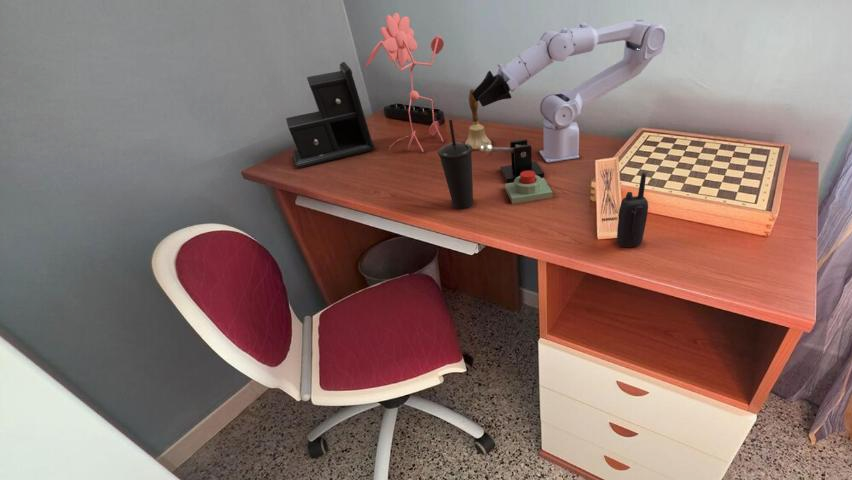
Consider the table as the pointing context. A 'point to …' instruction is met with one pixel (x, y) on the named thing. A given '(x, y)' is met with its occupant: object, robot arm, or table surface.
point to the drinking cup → (458, 171)
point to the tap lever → (494, 149)
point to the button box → (528, 190)
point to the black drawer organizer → (331, 121)
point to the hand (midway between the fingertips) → (476, 100)
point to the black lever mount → (520, 162)
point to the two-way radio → (632, 217)
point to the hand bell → (475, 126)
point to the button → (527, 177)
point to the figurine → (405, 57)
